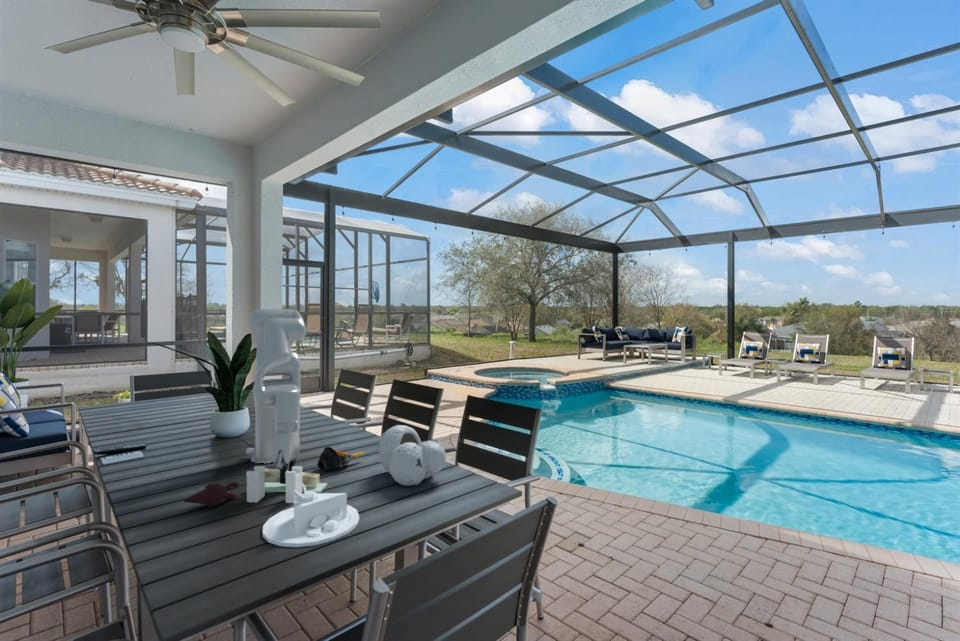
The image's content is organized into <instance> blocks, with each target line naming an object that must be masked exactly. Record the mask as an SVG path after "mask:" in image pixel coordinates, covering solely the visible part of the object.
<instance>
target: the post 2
mask: <svg viewBox="0 0 960 641" xmlns="http://www.w3.org/2000/svg"><path fill="white" fill-rule="evenodd" d="M302 472H303V466H297V465H296V466H293V467H292V471H286V472H285V477H286V493H285V503H286V504H294V495H293V494H292V492H293V491H294V490H295V491H297V492H298V493H300V494H303V493H302V484H301V482H300V481H302Z"/></svg>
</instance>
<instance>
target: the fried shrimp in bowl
mask: <svg viewBox="0 0 960 641" xmlns="http://www.w3.org/2000/svg"><path fill="white" fill-rule="evenodd" d="M349 453H350V452H349V451H346V452H344V451H339V450H336V448H332V447H331V446H326V447H324V448H323V451H322V452H321V453H320V456H319V459H318V461H317V467H318V468H319V469H320V470H322V472H325V471H326V470H327V471H332V470H335V469H338V468H339V469H344V468H346V467H347V466H349V464H350V463H351V461H352V459H354V458H356V459H357V458H358V457H362V456H364V455H365V454H366V450H362V451H359V452H356V453H352V454H349ZM343 467H344V468H343Z"/></svg>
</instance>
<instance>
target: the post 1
mask: <svg viewBox="0 0 960 641" xmlns="http://www.w3.org/2000/svg"><path fill="white" fill-rule="evenodd" d="M265 468H266V465H254V467H253V470H247V471H246V474H245V475H246V490H247V492H246V503H247V502H249V503H250V502H251V504H252V503H253V502H254V503H255V504H257V503H258V502H260V500H262V499H263V498H264V497H265V496H266V495H265V494H266V492H265V482H266V481H265Z"/></svg>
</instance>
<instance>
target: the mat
mask: <svg viewBox="0 0 960 641" xmlns="http://www.w3.org/2000/svg"><path fill="white" fill-rule="evenodd" d="M304 486H305V488H306V491H314V492H316V493H322V492H323V491H324V489H325V488H327V486H328V482H319V483H318V484H317V485H316V486H307V485H304ZM245 492H246V493H247V489H246V491H245ZM274 492H286V484H280V483H279V482H269V481H265V493H274ZM302 492H304V489H303V486H302Z"/></svg>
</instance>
